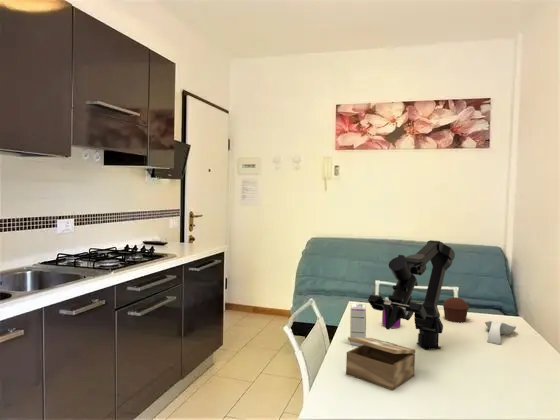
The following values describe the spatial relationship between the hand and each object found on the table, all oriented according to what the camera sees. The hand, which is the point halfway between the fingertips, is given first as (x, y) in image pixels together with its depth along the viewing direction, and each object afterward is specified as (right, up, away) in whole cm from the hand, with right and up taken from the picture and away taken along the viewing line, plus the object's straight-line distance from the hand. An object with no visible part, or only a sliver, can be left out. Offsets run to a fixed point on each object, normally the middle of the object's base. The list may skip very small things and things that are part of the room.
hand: (387, 328), depth 137 cm
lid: (-2, -5, -2) cm, 6 cm away
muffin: (+46, -13, +60) cm, 77 cm away
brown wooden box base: (-3, -14, -2) cm, 14 cm away
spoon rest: (+55, -14, +39) cm, 69 cm away
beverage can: (+14, -13, +49) cm, 53 cm away
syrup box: (-5, -13, +27) cm, 30 cm away
